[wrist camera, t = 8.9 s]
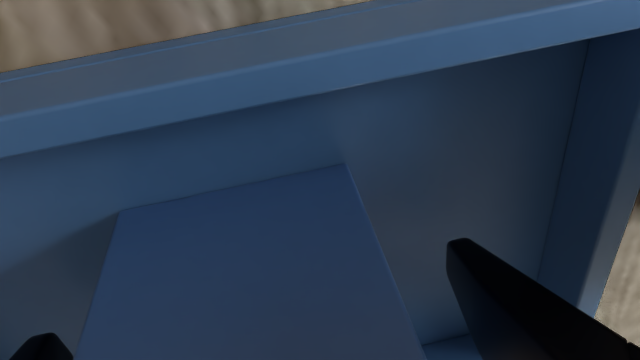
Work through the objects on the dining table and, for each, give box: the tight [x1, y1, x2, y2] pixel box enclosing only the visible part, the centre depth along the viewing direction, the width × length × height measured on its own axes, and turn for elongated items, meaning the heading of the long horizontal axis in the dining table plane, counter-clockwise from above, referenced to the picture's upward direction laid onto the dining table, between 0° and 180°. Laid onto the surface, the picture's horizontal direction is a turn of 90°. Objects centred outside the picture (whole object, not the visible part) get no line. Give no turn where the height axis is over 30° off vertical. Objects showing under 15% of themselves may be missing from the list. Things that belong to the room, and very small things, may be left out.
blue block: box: [73, 164, 427, 360], centre depth 8 cm, size 4×4×4 cm
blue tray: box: [0, 0, 640, 360], centre depth 10 cm, size 15×10×2 cm
